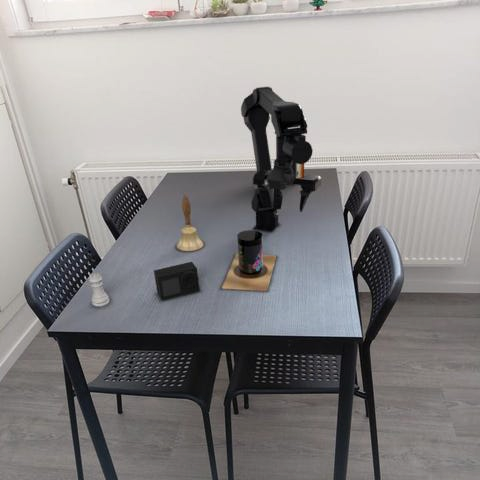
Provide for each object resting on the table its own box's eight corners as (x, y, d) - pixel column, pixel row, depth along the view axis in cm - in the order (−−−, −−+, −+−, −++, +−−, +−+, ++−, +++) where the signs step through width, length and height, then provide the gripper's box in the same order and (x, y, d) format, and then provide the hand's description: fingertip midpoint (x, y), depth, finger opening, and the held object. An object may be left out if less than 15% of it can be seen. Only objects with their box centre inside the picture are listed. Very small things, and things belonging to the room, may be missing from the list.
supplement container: (250, 278, 130) (248, 242, 124) (233, 270, 134) (231, 235, 128) (268, 269, 133) (267, 234, 127) (251, 262, 138) (250, 228, 132)
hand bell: (207, 241, 152) (203, 192, 143) (197, 252, 145) (191, 201, 136) (183, 238, 154) (177, 190, 145) (172, 249, 148) (165, 199, 139)
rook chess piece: (93, 299, 125) (87, 272, 121) (111, 297, 125) (105, 270, 121) (90, 308, 121) (83, 280, 117) (108, 306, 122) (102, 279, 117)
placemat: (236, 254, 143) (236, 253, 143) (276, 256, 141) (276, 254, 141) (222, 288, 127) (222, 287, 126) (267, 291, 125) (267, 289, 124)
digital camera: (162, 303, 122) (158, 279, 118) (157, 293, 126) (153, 269, 122) (201, 293, 125) (198, 269, 121) (194, 284, 129) (191, 261, 125)
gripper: (242, 159, 128) (244, 215, 137) (308, 166, 121) (306, 224, 129) (260, 148, 136) (261, 202, 145) (323, 154, 129) (320, 210, 137)
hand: (286, 209), depth 139 cm, fingers open, 9 cm apart
